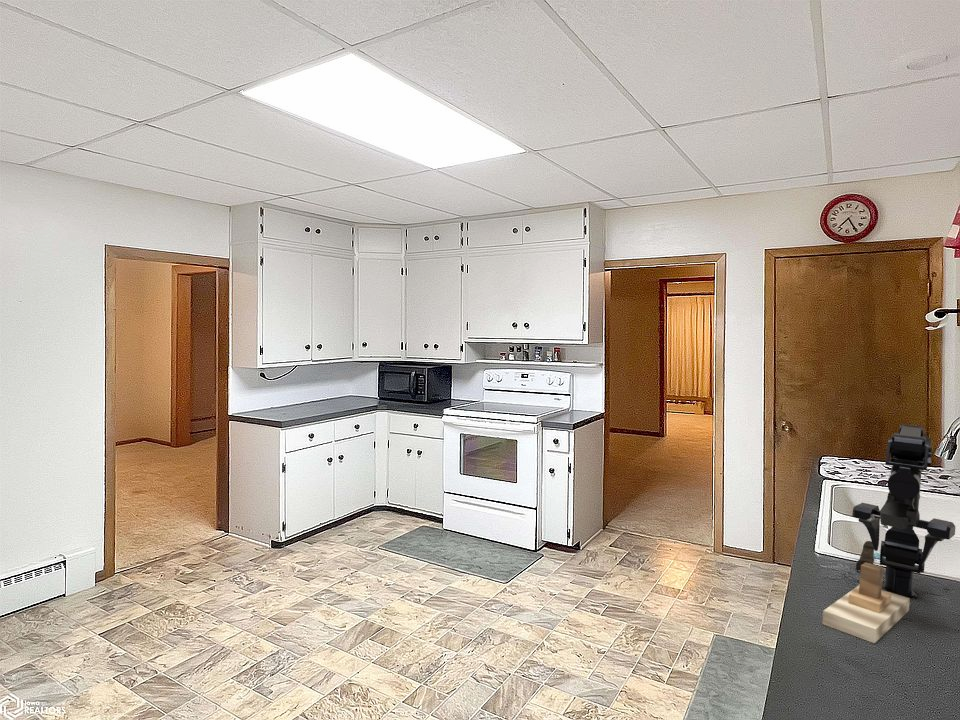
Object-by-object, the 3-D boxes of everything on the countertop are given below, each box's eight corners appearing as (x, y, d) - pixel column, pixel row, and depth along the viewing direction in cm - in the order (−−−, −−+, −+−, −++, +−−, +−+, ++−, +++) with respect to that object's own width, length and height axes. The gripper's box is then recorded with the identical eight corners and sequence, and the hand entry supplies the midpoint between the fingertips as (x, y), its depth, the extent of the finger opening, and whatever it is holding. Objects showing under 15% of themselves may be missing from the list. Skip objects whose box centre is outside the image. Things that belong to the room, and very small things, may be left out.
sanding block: (860, 593, 142) (863, 558, 142) (890, 603, 138) (893, 566, 137) (848, 602, 137) (851, 566, 136) (878, 613, 132) (881, 575, 132)
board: (860, 595, 148) (861, 583, 148) (908, 610, 141) (909, 598, 141) (822, 624, 133) (823, 610, 133) (874, 643, 125) (875, 629, 125)
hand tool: (872, 577, 161) (874, 560, 161) (855, 572, 163) (856, 555, 163) (880, 557, 176) (881, 541, 175) (863, 553, 178) (865, 538, 178)
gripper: (846, 485, 140) (841, 551, 141) (945, 505, 126) (939, 579, 127) (862, 479, 148) (858, 541, 149) (958, 497, 134) (952, 566, 135)
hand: (899, 556), depth 140 cm, fingers open, 9 cm apart
